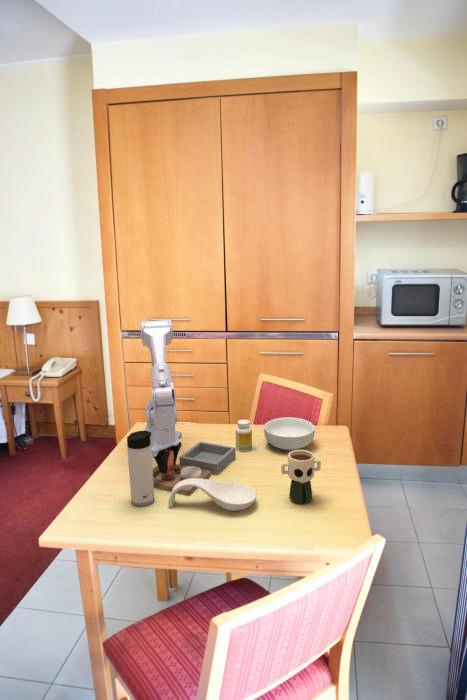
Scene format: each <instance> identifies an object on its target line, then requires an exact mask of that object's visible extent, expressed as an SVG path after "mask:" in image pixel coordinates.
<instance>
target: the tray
mask: <svg viewBox="0 0 467 700" xmlns="http://www.w3.org/2000/svg"><path fill="white" fill-rule="evenodd" d="M236 450H237V449H236V447H233V446H227V445H223V444H217V443H211V442H206V441H198V442H197V443H196V444H194V445H193V446H192V447H190V448H189V449H188V450H187V451H185V452H183V454H181V455H180V456H179V465H183V466H196V467H199V468H200V469H203V470H208V471H211V475H215V476H218V475H219V474H220V473H221V472H222V471H223V470H224V469H226V468H227V467H228V466H229V465H230V464H231V463H232V462H233V461H234V460H235V459H236V458H237V456H236V455H237V454H236V453H237V451H236Z"/></svg>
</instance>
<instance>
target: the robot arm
mask: <svg viewBox="0 0 467 700" xmlns="http://www.w3.org/2000/svg"><path fill="white" fill-rule="evenodd" d="M139 325H140V327H139V328H140V338H141V344H142V346H144V347H146V348H148V349H149V352H150V360H151V363H150V364H151V369H150V375H151V383H152V389H151V397H150V399H149V400H148V401H147V402H146V404H145V415H146V425H145V427H144V428H143V429H144V430H143V431H149V432H151V434H152V435H151V436H150V439H151V440H150V441H151V452H152V458H153V459H154V460H155V462H156V466H157V465H158V468H159V471H160V474H161V473H165V474H166V473H167V470H168V459H169V455H170V452H165V451H164V449H165V448H172V449H173V452H174V467H175V465H176V464H177V460H178V455H179V451H180V449H181V447H183V446H182V445H183V444H182V442H180V441H179V440H182V438H183V435H182V434H183V433H182V431H176V424H177V422H178V412H177V405H176V402H177V401H176V390H175V387H174V386H175V385H174V383H173V380H172V371H171V370H172V369H171V366H170V365H169V364H167V362H166V358H167V357H166V355H167V353H166V347H167V346H169V345H171V344H172V342H173V334H174V333H173V332H174V331H173V322H172V320H171V319H170V318H169V319H164V320H163V319H162V320H159V319H158V320H141V322H140V323H139Z"/></svg>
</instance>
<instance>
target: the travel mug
mask: <svg viewBox="0 0 467 700" xmlns="http://www.w3.org/2000/svg"><path fill="white" fill-rule="evenodd" d="M151 435H152V434H151V432H149V431H144V430H139V431H138V430H137V431H134V432H131V433H129V435H128V436H126V447H127V450H126V451H127V461H128V473H129V474H128V475H129V485H130V486H129V489H130V499H131V504H132V505H133V506H135V507H142V508H143V507H147V506H148V507H149V506H150V505H152V504H153V503H154V501H155V488H154V483H153V468H154V467H153V456H152V452H151V441H150V440H151V439H150V436H151Z"/></svg>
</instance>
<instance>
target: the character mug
mask: <svg viewBox="0 0 467 700" xmlns="http://www.w3.org/2000/svg"><path fill="white" fill-rule="evenodd" d="M315 458H316V457H315V454H314V453H313V452H312V451H310V450H307V449H297V450H290V452H288V453H287V462H282V463H281V466H280V467H281V468H280V469H281V470H280V471H281V475H288V477H289V479H290V480H291V481H290V486H289V494H288V495H289V499H290V500H291V501H292V502H295V503H296V504H303V501H304V500H305V503H309V502H311V501H312V500H313V491H312V482H311V480H313V478H314V477H315V472H319V471H321V464H322V463H321V459H319V458H317V459H315ZM315 464H316V467H315ZM286 467H287V469H286Z"/></svg>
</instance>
